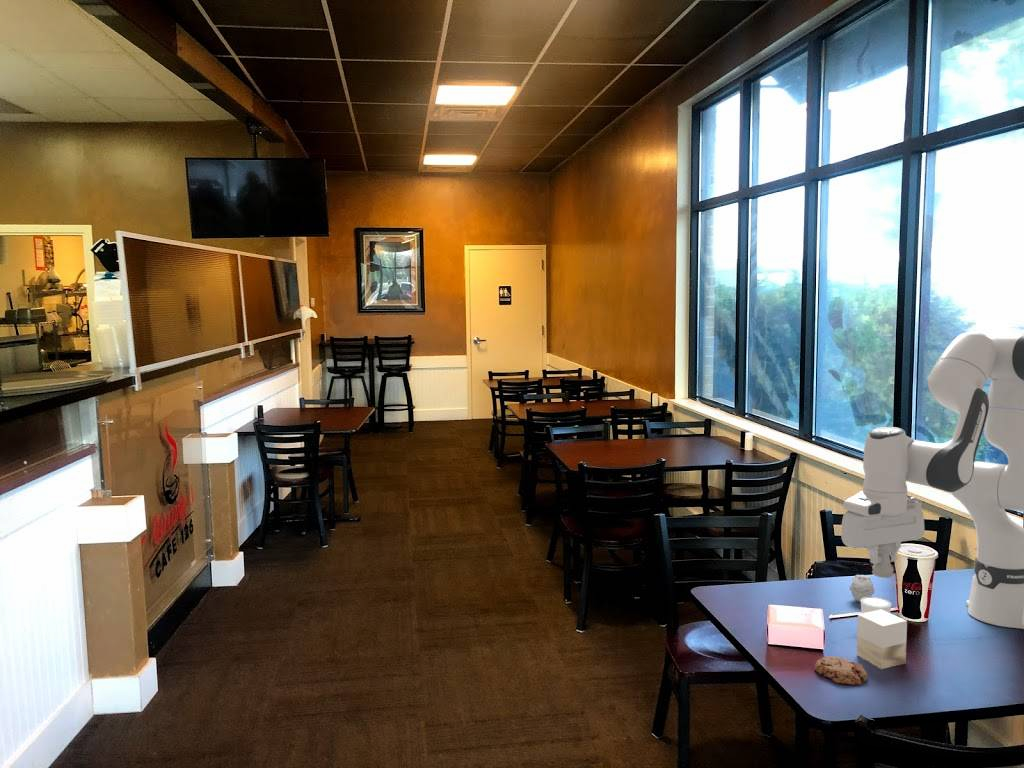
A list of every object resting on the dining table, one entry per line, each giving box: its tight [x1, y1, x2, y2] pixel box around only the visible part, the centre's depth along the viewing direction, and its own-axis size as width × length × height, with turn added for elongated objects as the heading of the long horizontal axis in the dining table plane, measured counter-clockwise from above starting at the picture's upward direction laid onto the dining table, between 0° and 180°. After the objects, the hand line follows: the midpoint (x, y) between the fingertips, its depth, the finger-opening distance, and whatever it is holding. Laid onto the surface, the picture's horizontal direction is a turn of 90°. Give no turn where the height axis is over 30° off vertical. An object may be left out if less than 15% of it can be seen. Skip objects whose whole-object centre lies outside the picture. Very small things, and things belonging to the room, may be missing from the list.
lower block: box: [856, 635, 907, 670], centre depth 170 cm, size 7×7×5 cm
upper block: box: [856, 609, 908, 648], centre depth 170 cm, size 7×7×5 cm
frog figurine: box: [849, 574, 875, 603], centre depth 203 cm, size 6×7×7 cm
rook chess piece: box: [871, 543, 895, 579], centre depth 168 cm, size 4×4×8 cm
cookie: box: [814, 656, 868, 686], centre depth 164 cm, size 10×11×3 cm
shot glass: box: [860, 596, 892, 614], centre depth 186 cm, size 7×7×7 cm
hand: (882, 562), depth 169 cm, fingers closed on rook chess piece, 3 cm apart
